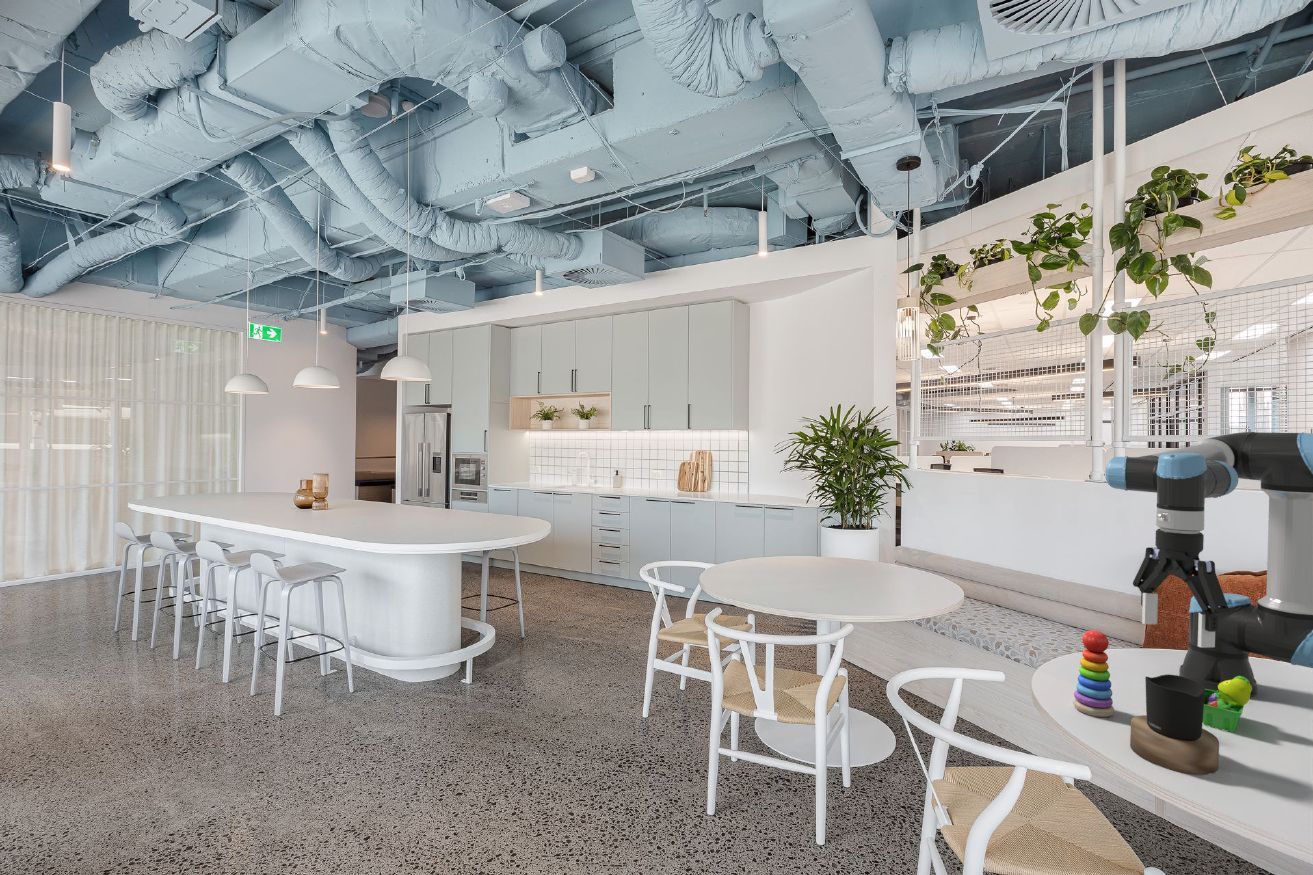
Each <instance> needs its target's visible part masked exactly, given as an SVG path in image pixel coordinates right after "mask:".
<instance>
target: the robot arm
mask: <svg viewBox="0 0 1313 875" xmlns="http://www.w3.org/2000/svg"><path fill="white" fill-rule="evenodd" d="M1104 472H1105V473H1104V474H1105V481H1106V483H1107V484H1108V485H1109V487H1111V488H1112V489H1116V490H1124V491H1125V492H1128V491H1134V492H1143V493H1144V492H1145V493H1156V520H1155V524H1156V525H1155V526H1157V529H1156V530H1155V547H1152V546H1151V547H1146V548H1145V554H1144V558H1143V560H1142V561H1141V562H1142V563H1141V564H1140V567H1139V568H1138V570H1137V573H1136V575H1135V577H1134V579H1133V581H1132V585H1133V587H1135V588H1136V587H1137V588H1138V589H1139V592H1140V596H1141V597H1140V598H1141V600H1140V605H1141V608H1142V611H1141V614H1142V615H1141V624H1143V625H1158V611H1159V610H1158V609H1159V608H1158V607H1159V606H1158V605H1159V604H1158V603H1159V597H1158V596H1159V593H1156V592H1158V590H1157V589H1158V588H1159V586H1161V584H1163V583H1164V581H1165V580H1166V579H1167V578H1168V577H1169V576H1174V577H1176V578H1179V579H1181V581H1182V582H1184V583H1186V585H1187V586H1188V589H1189V591H1191V592H1190V593H1191V594H1192V595H1193V596H1192V597H1191V598H1190V605H1189V609H1188V613H1189V615H1188V616H1189V617H1188V618H1189V620H1188V649H1187V652H1186V654H1185V657H1184V659H1183V662H1182V664H1181V665H1180V666H1179V670H1178V671H1179V672H1178V676H1181V677H1185V678H1188V679H1191V680H1194V681H1196V682H1198V683H1200V684H1202V685H1203V686H1204V687H1205V689H1209V690H1214V691H1217V690H1218V691H1219V689H1218V685H1219V684H1220V683H1221V682H1224V681H1227V680H1232V679H1234V678H1235V677H1237V676H1242V677H1245V678H1247V679H1248V680H1249V681H1250V682H1249V683H1250V685H1251V686H1252V691H1251V693H1250V697H1253V696H1255V695H1257V694H1258V682H1257V680H1256V679H1255V675H1254V672H1253V669H1252V666H1251V664H1250V659H1249V653H1250V654H1252V655H1253V654H1254V655H1257V656H1261V657H1266V658H1269V659H1273V660H1275V661H1276V660H1277V661H1281V662H1284V663H1288V664H1291V665H1293V666H1301V667H1306V668H1309V669H1313V433H1311V432H1305V431H1304V432H1256V431H1243V432H1233V433H1229V434H1223V435H1217V436H1214V437H1210V438H1209V437H1208V438H1204V439H1200V440H1198V441H1196V442H1194V443H1193V444H1191V446H1187V447H1181V448H1176V449H1173V450H1167V451H1162V452H1157V453H1152V454H1148V455H1141V456H1138V457H1137V456H1135V457H1133V456H1132V457H1131V456H1127V455H1126V456H1114V457H1112V458H1111V459H1110V460H1109V461H1108V462H1107V464H1106V467H1105V471H1104ZM1239 479H1240V480H1242V479H1243V480H1252V481H1260V490H1261V491H1263V492H1264V493H1265V494H1266V495H1267V496H1268V522H1267V523H1268V529H1267V562H1266V565H1267V567H1266V568H1267V569H1266V595H1264V596H1263V597H1262V598H1258V600H1257V605H1256V604H1255V605H1254V604H1252V602H1253V601H1252V600H1251V598H1250V597H1249V596H1247V595H1246V596H1245V595H1243V594H1236V593H1226V592H1223V589H1222V586H1221V585H1220V582H1219V579H1218V576H1217V572H1216V564H1215V561H1213V560H1200V556H1199V555H1200V553H1201V552H1203V550H1204V541H1205V540H1204V539H1205V538H1204V537H1205V536H1204V534H1203V533H1202V532H1203V531H1204V530H1205V505H1206V503H1205V502H1206V501H1205V500H1206V499H1209V498H1213V499H1215V498H1216V499H1217V498H1218V497H1219V498H1221V497H1223V496H1226V495H1229V494H1230V493H1233V492H1234V490H1235V489H1236V488H1237V486H1238V484H1239Z"/></svg>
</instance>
